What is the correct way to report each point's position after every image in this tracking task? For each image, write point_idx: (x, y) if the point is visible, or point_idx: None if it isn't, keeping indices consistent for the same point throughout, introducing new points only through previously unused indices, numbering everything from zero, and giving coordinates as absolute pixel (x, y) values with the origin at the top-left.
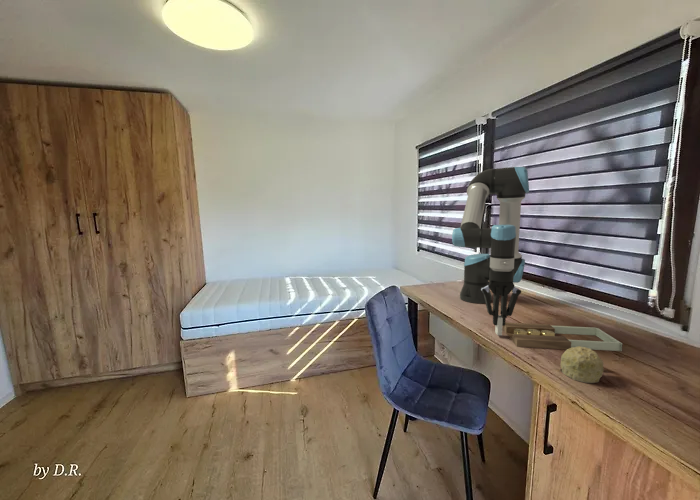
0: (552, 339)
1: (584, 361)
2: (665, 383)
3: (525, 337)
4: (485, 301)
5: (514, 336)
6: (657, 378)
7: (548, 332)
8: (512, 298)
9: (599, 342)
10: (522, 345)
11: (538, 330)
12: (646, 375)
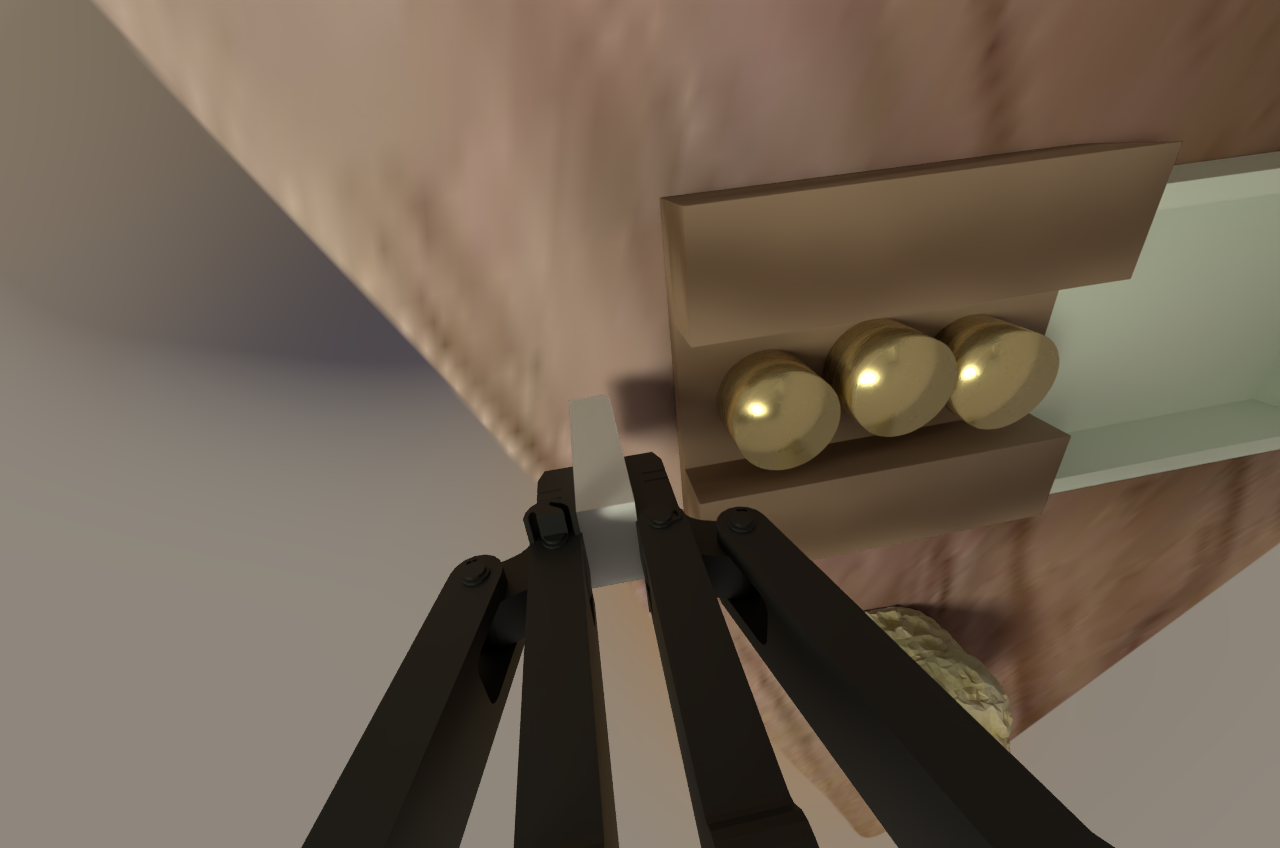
0: (950, 509)
1: None
2: (1133, 608)
3: None
4: (353, 784)
5: None
6: (1144, 585)
7: (1011, 384)
8: (908, 832)
9: (1216, 459)
10: None
11: (955, 362)
12: (1128, 577)
